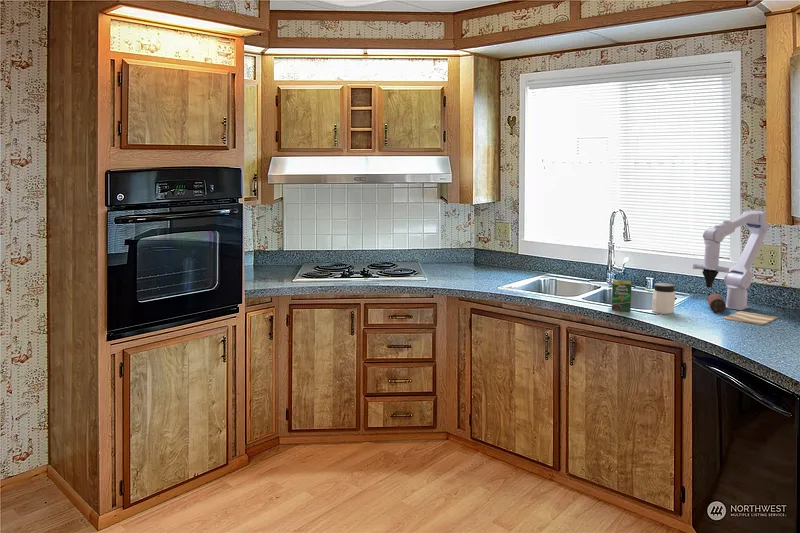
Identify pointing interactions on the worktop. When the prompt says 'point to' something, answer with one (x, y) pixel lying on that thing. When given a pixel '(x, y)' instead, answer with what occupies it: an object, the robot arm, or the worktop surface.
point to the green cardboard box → (621, 295)
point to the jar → (663, 298)
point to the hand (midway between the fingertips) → (709, 287)
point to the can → (716, 303)
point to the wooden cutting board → (750, 318)
